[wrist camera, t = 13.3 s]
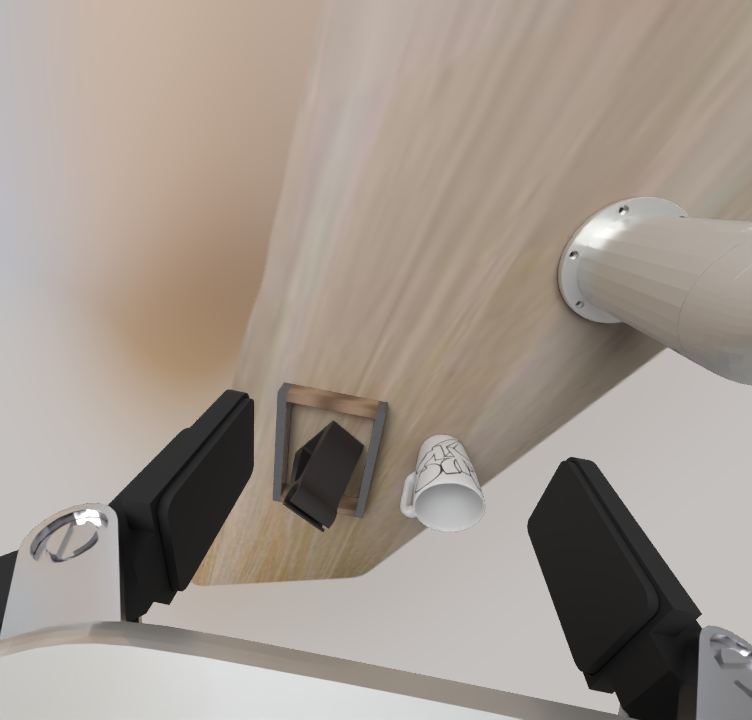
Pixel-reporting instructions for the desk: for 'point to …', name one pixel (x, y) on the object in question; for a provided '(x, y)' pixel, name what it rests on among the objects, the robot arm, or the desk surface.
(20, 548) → the robot arm
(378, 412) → the wooden frame
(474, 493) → the mug
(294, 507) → the phone stand
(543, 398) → the desk surface
